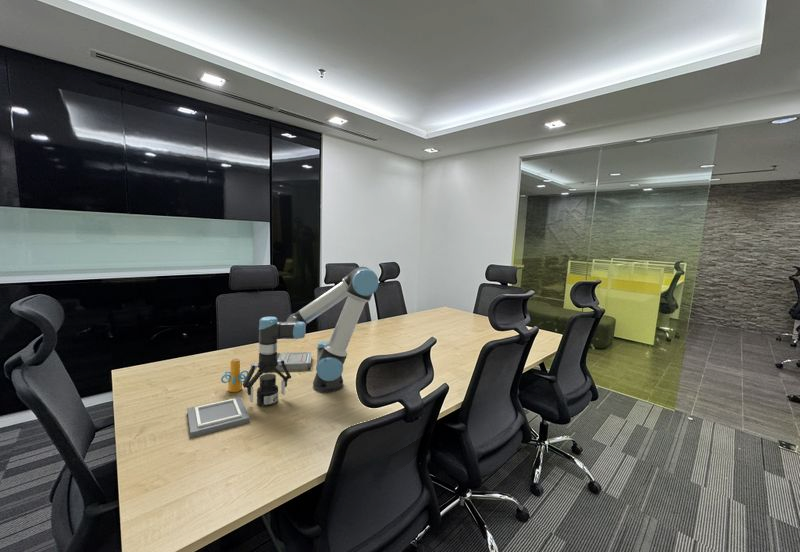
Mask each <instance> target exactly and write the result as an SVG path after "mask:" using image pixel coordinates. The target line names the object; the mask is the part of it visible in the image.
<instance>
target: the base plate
mask: <svg viewBox="0 0 800 552" xmlns="http://www.w3.org/2000/svg"><path fill="white" fill-rule="evenodd" d="M242 399H243V398H242V397H241V396H239V397H237V396H236V397H234V398H229V399H224V400H219V401H215V402H210V403H206V404H201V405H195V406H193V407H188V408H187V411H186V412H187V419H188V427H189V428H188V429H189V435H190V437H189V438H195V437H199V436H202V435H207V434H209V433H210V434H211V433H215V432H218V431H222V430H226V429H229V428H234V427H236V426H237V427H238V426H240V425H245V424H248V423H250V422H251V419H250V418H251V416H250V415H249V413H248V410H247V408H246V406H245V403H244V402H243V400H242Z"/></svg>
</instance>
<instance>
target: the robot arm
mask: <svg viewBox="0 0 800 552" xmlns="http://www.w3.org/2000/svg"><path fill="white" fill-rule="evenodd" d="M378 287H379V278H378V275H377V274H376V273H375V271H374V270H372V269H370V268H368V267H367V266H358V267H356V268H355V269H353V270H352V271H351V272H349V274H347V275H345V276H344V277H343V278H342V280H341V281H340V282H339V283H337V284H336V285H334V286H333V287H332V288H330V289H329V290H327V291H325V292H324V293H323V294H322V295H320V296H318V297H317V298H316V299H315V298H314V300H312V301H311V302H309V303H308V304H307V305H305V306H303V307H302V308H301V309H299V310H298V311H296V312H295V313H292V314H290V315H289V316H288V317H287V318H286V321H278V318H277V317H276V316H264V317H260V319H259V321H258V322H259V324H258V352H259V353H258V363H257V364H254V363H251V364H250V370H248V375H247V374H246V376H247V377H246V379H245V381H244V380H243V381H244V382H242V388H245V389H246V388H247V390H246V393H247V394H248V396H249V401H250V403H254V384H255V383H256V382H257V381H258V379H260V376H262V375H264V374H269V373H272V372H275V373H276V374H278V376H280V377H281V378H282V379H281V386H280V387H281V391H280V392H281V395H282V396H285V395H286V393H285V392H286V388H287V386H288V381H289V379H292V375H291V374H290V371H288V370H287V368H286V366H285V363H284V360H283V359H281V360H280V361H277V353H278V340H285V339H286V340H287V339H288V340H289V339H291V340H298V339H304V338H305V337H306V326H307V324H310V322H312V321H313V320H315V319H316V318H317V317H319V316H321V315H322V314H324V313H325V312H326V311H328V310H329V309H330V308H332V307H334V306H335V305H337V304H338V303H339V302H341V301H343V300H344V299H346V300H345V303H344V305H343V308H342V310H341V312H340V315H339V318H338V320H337V322H336V325H335V327H334V329H333V332H332V334H331V336H330V339H329V340H324V341H323V340H322V341H319V342H318V343H317V347H316V349H317V351H316V354H317V355H316V367H315V371H316V373H315V375H314V379H313V382H312V388H313V390H315V391H316V392H319V393H333V392H337V391H340V390H341V389H342V388H343V387H344V379H343V376H342V374H343V371H344V364H345V361H346V359H347V357H348V351H347V348H348V346H349V343H350V340H351V338H352V336H353V333H354V332H355V329H356V326H357V324H358V322H359V319H360V317H361V314H362V312H363V310H364V307H365V305H366V303H368V302H370V301H371V298H372V296H373V295H374V293H375V292H376V291H377V289H378ZM278 364H279V365H281V366H282V368H283V370H284V371H283V372H284V373H285V375H284V374H283V373H282V371H279V370H278V369H277V368H276V366H277V365H278ZM257 368H258V370H257ZM255 370H257V371H256V373H255ZM254 373H255V374H254Z"/></svg>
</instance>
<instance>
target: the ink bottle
mask: <svg viewBox="0 0 800 552" xmlns="http://www.w3.org/2000/svg"><path fill="white" fill-rule="evenodd" d="M278 401H279V386H278V385H277V375H276V374H275V373H264V374H262V375H261V376H260V377H259V387H258V388H257V389H256V404H257V405H258V406H260V407H271V406H275V404H276V403H278Z"/></svg>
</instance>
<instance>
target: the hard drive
mask: <svg viewBox="0 0 800 552" xmlns="http://www.w3.org/2000/svg"><path fill="white" fill-rule="evenodd" d="M281 359H283V360H284V363H285V366H286V368H287V370H288V372H290V371H291V372H292V371H310V370H311V367H312V360H313V352H311V351H307V352H302V351H301V352H277V361H280V360H281ZM276 368H277V369H278V370H279V371H280V372H285V371H284V370H283V368H282V366H281V365H279V364H278V365H277V366H276Z"/></svg>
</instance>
